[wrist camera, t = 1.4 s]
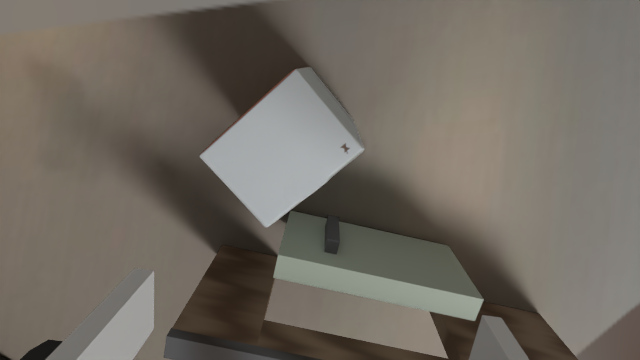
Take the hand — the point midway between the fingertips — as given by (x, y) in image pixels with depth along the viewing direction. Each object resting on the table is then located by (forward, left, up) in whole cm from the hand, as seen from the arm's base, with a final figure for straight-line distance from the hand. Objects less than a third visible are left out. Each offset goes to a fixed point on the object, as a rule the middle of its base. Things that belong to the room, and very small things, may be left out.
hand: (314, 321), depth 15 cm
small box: (-3, +4, -22) cm, 23 cm away
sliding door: (+6, -5, -22) cm, 23 cm away
